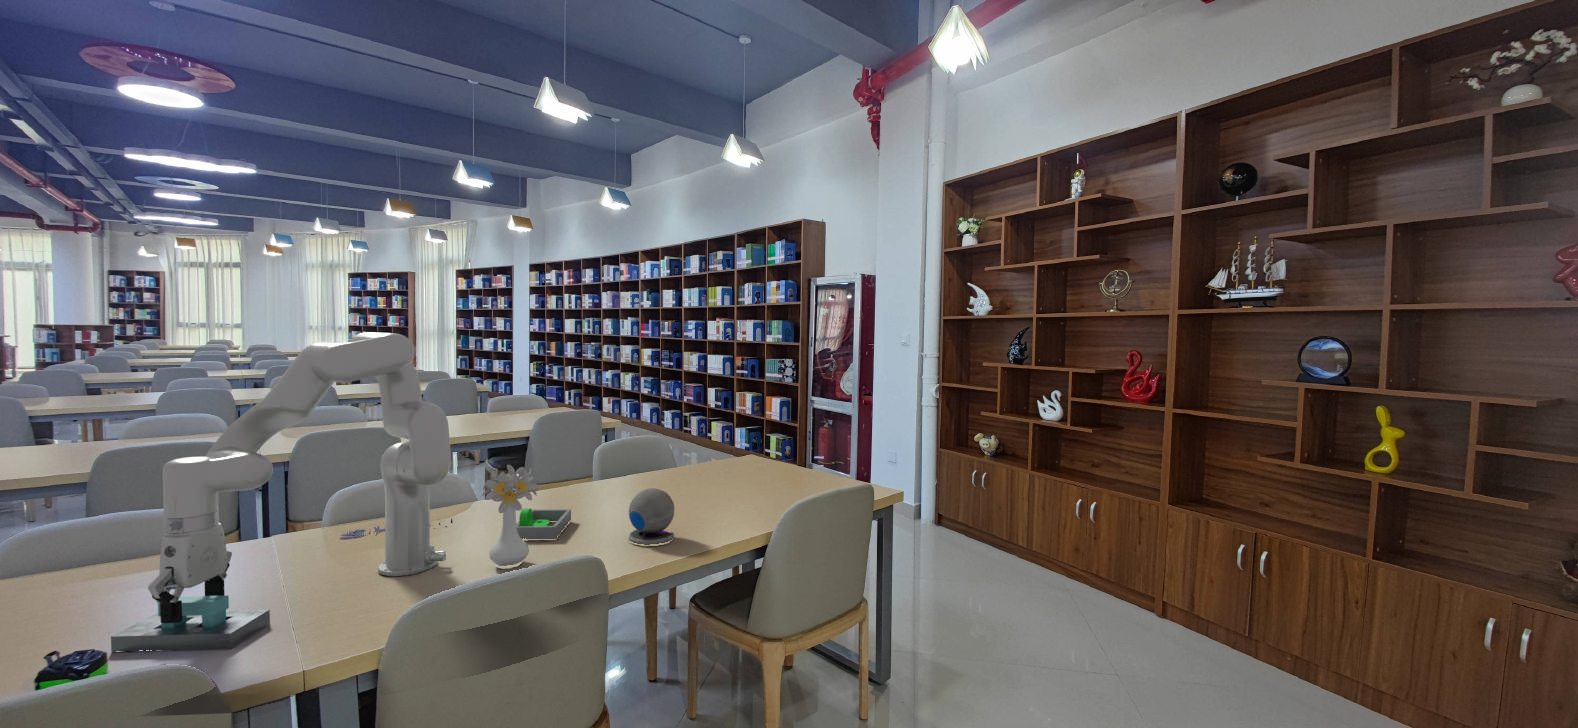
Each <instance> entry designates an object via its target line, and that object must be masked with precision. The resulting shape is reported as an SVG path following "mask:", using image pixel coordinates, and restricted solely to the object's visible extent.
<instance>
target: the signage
mask: <svg viewBox="0 0 1578 728" xmlns="http://www.w3.org/2000/svg"><path fill="white" fill-rule="evenodd" d="M364 529H365V528H364ZM364 529H360V528H359V529H354V530H355V531H354V532H355V533H351V532H353V531H352V530H348V531H349V534H348V532H347V534H343V535H356V536H340V537H339V540H340V539H343V540H351V539H352V538H353V539H359V538H361V537H360V536H363V535H364V533H365V532H358V531H366V529H365V530H364ZM374 529H375V531H374V532H377V533H379V532H378V531H385V527H383V528H379V527H377V528H376V527H374ZM350 531H351V532H350ZM369 531H370V530H369ZM370 532H371V531H370ZM362 534H363V535H362ZM358 537H359V538H358ZM363 537H364V536H363ZM353 539H352V540H353Z"/></svg>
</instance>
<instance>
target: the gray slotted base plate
mask: <svg viewBox="0 0 1578 728" xmlns="http://www.w3.org/2000/svg"><path fill="white" fill-rule="evenodd" d="M270 615H271V613H270V609H239V610H235V609H234V610H226V621H225V622H223V623H221V624H219V625H218V626H216V627H206V628H202V615H194V616H187V622H185V623H183V624H181V625H179V626H177V627H176V628H166V629H162V628H161V620H160V616H158V613H155V614H154V615H152V616H150V617H148V618H145V619H143V620H141V621H139V622H138V623H136V624H134V625H132V626H129V627H127V628H125V629H123V630H121V631H119V632H117V633H115V634H113V635H111V636H110V648H111V649H110V651H111V652H116V651H139V650H143V651H146V650H149V651H150V650H152V651H151V652H157V651H156V650H172V651H171V652H177V651H178V652H182V651H212V650H214V651H216V650H217V651H218V650H220V651H221V650H232V649H233V648H235V647H236V646H238V645H240V644H241V643H243V642H244V641H246V640H247V639H249V638H251V637H253V636H254V635H255V634H257V633H259V632H260V631H262V630H263V629H264V628H266V627H267V626H269V625H271V618H270V617H271V616H270ZM111 652H110V653H111ZM116 653H117V652H116Z"/></svg>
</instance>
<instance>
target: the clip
mask: <svg viewBox="0 0 1578 728" xmlns="http://www.w3.org/2000/svg"><path fill="white" fill-rule="evenodd" d="M229 599H230V598H229V595H226V594H225V596H205V595H191V596H190V595H189V596H187V595H185V596H183V595H181V596H180V598H179V599H178V601H180V600H182V621H181V622H179V623H161V628H162V629H166V628H176V627H177V626H179V625H181V624H183V623H185V622H187V616H194V615H202V628H206V627H216V626H218V625H219V624H221V623H223V622H225V621H226V611H227V610H228V609H229V608H230V605H229V604H230V603H229ZM157 614H158V616H160V603H157Z"/></svg>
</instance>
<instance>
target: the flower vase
mask: <svg viewBox="0 0 1578 728" xmlns="http://www.w3.org/2000/svg"><path fill="white" fill-rule="evenodd" d="M506 469H507V471H508V473H505V472H504V471H501V472H500V473H499V474H498V469H493V470H492V471H491V473H490V479H487V480H485V483H484V485H483V487H482V490H485V491H484V492H483V493H482V495H481V497H484V496H485V495H486V496H485V500H486V501H489V500H492V501H494V502H500V504H499V506H498V513H499V514H502V527H501V533H500V535H499V537H498V538H497V541H496V542H495V543H494V544H493V545H492V547H490V549H489V554H488V556H489V559H490V560H491V562H493V563H494V564H495V565H496V564H497V565H499V566H507V565H514V564H517V563H519V562H521V561H522V562H523V561H524V560H525V559H526V558H527V556H528V555H529V553H530V549H529V546H528V543H527V541H523V540H522V539H521V538H520V536H519V534H518V532H517V528H516V524H517V518H516V517H517V515H516V511H519V512H520V511H521V510H522V509H523V507H522V504H521V502H520V501H519V500H521V499H522V498H524V497H525V498H526V499H527V500H528V501H532V500H533V495H532V493H533V494H534V495H535V496H538V494H537V491H536V490H537V489H538V488H539V485H538V484H537V483H535V481H534V480H535V479H534V476H533V475H532V468H529V472H528V471H526V468H525V467H523V466H521V467H519V468H518V469H517V470H516V471H515V468H514V467H513V466H512V465H511V464H506ZM513 486H515V488H513Z"/></svg>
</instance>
